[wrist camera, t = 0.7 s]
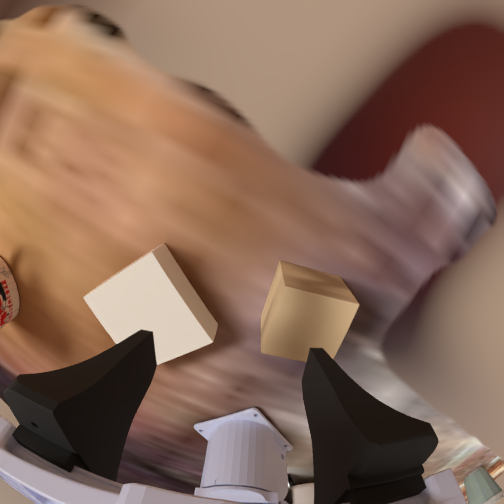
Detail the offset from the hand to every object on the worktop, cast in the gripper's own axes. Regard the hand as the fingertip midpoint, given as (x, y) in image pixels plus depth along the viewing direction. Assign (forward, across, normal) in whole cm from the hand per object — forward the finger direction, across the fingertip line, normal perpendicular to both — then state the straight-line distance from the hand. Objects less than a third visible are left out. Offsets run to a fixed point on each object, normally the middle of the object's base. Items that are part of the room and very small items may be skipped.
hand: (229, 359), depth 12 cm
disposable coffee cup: (+10, -66, +55) cm, 86 cm away
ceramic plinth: (+10, +7, +3) cm, 13 cm away
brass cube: (+10, -5, +1) cm, 11 cm away
